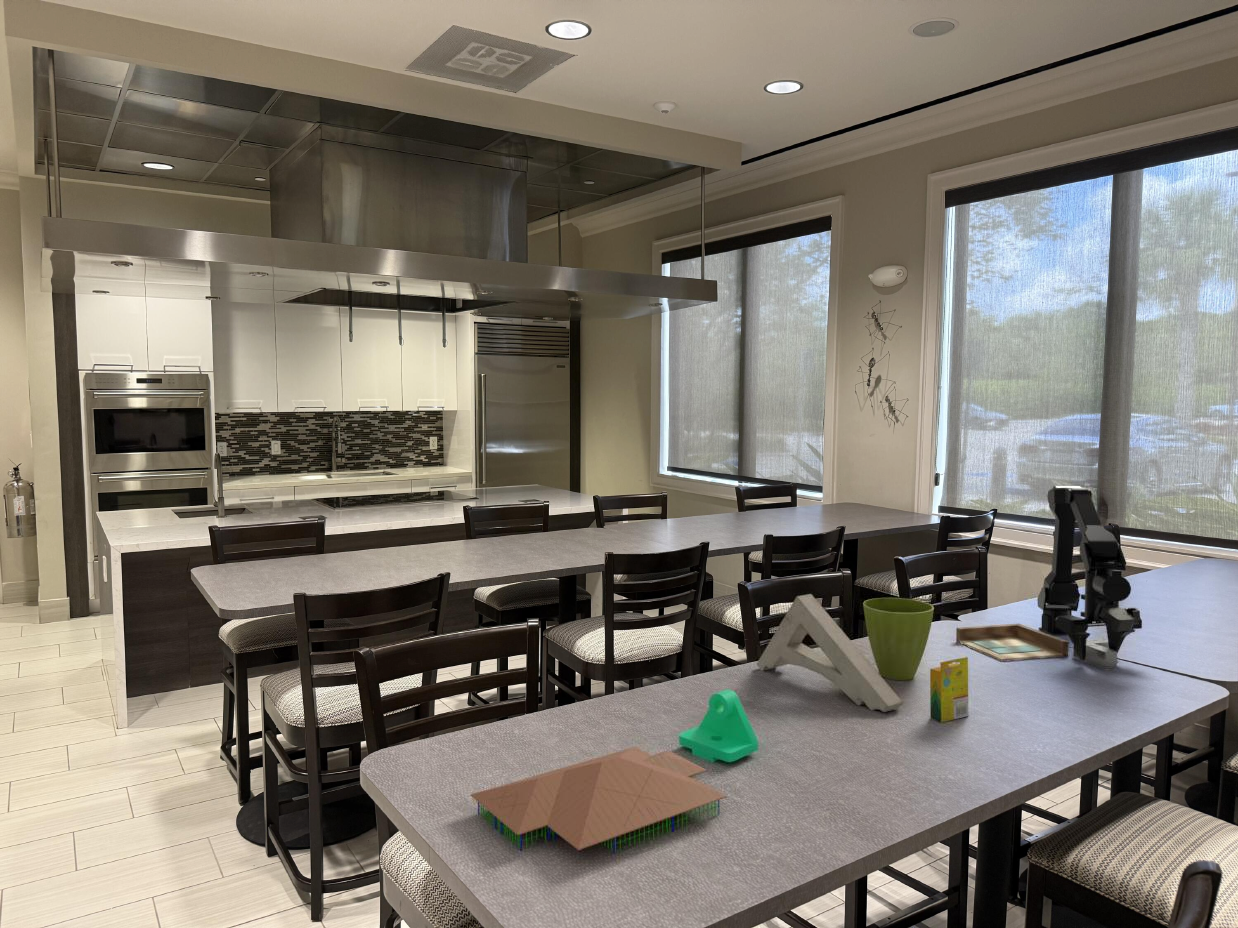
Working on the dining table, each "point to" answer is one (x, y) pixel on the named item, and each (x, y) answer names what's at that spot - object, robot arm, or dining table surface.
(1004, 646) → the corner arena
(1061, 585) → the robot arm
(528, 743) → the dining table surface
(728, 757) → the camera mount
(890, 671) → the flower pot
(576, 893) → the dining table surface
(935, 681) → the crayon box
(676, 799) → the house
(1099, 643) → the angle bracket
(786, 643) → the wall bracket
